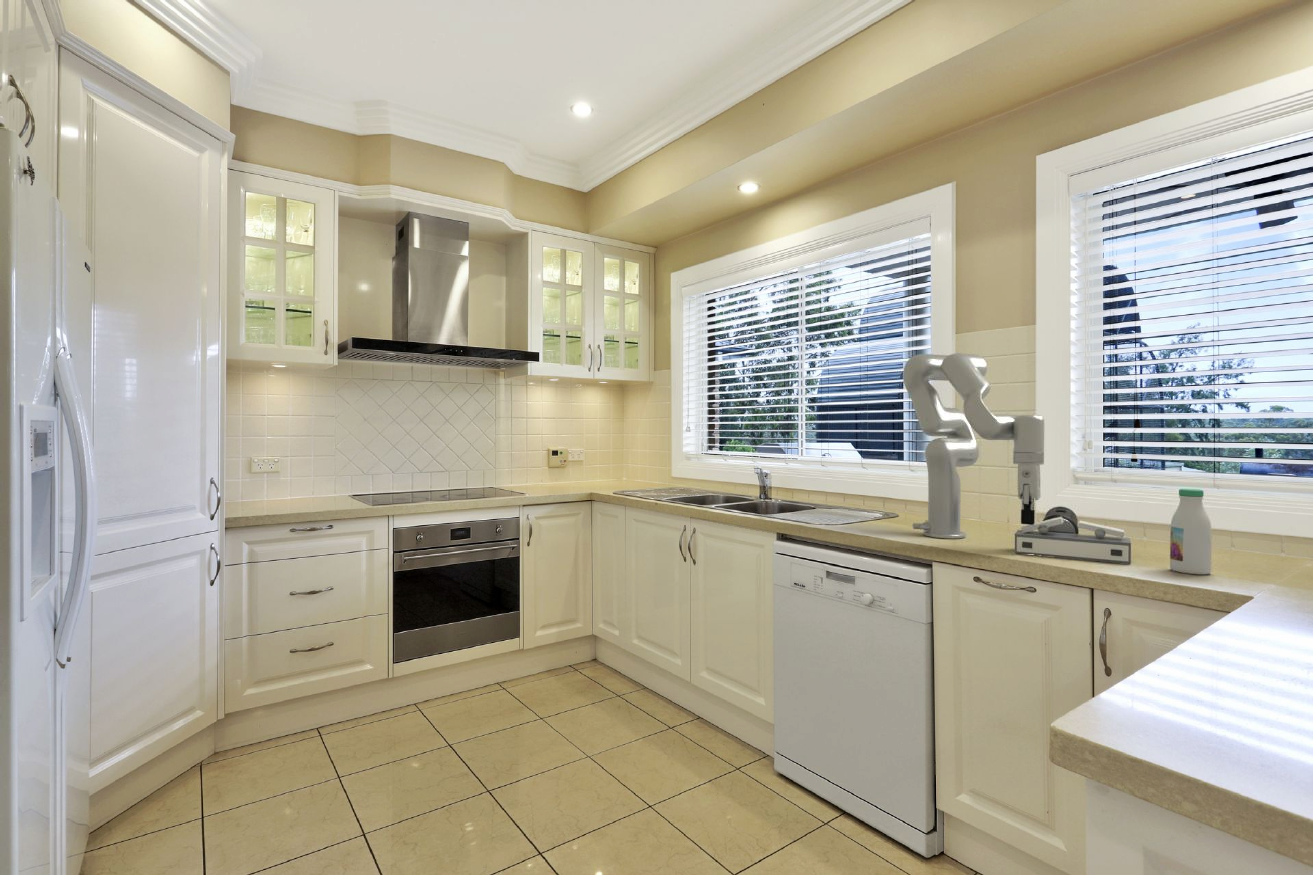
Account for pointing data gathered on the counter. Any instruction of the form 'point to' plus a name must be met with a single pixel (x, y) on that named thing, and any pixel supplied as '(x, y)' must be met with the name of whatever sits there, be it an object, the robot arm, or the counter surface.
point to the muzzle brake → (1068, 517)
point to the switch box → (1074, 546)
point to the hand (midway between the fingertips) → (1027, 523)
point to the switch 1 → (1042, 525)
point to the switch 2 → (1101, 529)
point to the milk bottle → (1190, 535)
